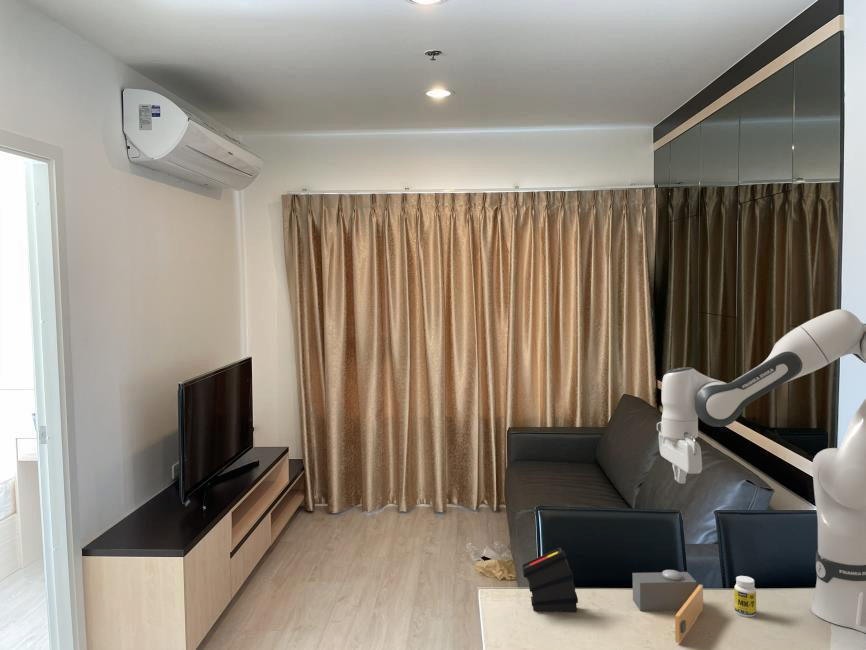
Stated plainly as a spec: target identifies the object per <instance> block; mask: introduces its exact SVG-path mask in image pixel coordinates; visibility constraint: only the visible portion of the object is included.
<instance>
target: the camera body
mask: <svg viewBox="0 0 866 650" xmlns="http://www.w3.org/2000/svg"><path fill="white" fill-rule="evenodd" d="M697 584H698V583H697V581H696V580H695V579H694V578H693V577H692V575H691V574H690V573H688V571H678V570H675V569H665V570H662V571H661V572H632V601H633V602H634V604H635V605H636V607H637V608H638V610H639V611H640V612H644V611H645V612H651V611H652V612H657V611H662V612H663V611H679V610H680V609H681V608H682V606H683V605H684V604H685V602H686V601H687V600H688V599H689V597H690V596H691V595H692V593H693V592H694V591H695V589H696V588H697V587H698V585H697Z"/></svg>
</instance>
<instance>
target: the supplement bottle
mask: <svg viewBox="0 0 866 650" xmlns="http://www.w3.org/2000/svg"><path fill="white" fill-rule="evenodd" d="M735 581H736V583H735V585H734V591H733V592H734V596H733V597H734V605H733V607H734V612H735V613H736V614H737V615H738V616H742V617H746V618H752V617H755V616H757V589H756V587H755V579H754V578H752V577H750V576H748V575H746V576H745V575H739V576H736V577H735Z"/></svg>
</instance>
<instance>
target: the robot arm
mask: <svg viewBox="0 0 866 650" xmlns="http://www.w3.org/2000/svg"><path fill="white" fill-rule="evenodd" d="M848 355H853V356H855V357H856V358H858V359H859V360H860V361H861V362H863V363H864V364H866V323H863V322H862V321H861V320H860V319H859V318H858V316H856V315H855V314H854V313H852V312H851V311H849V310H847V309H843V308H842V309H841V308H840V309H834V310H832V311H828V312H825V313H823V314H821V315H819V316H816V317H814V318H812V319H810V320H807V321H805V322H804V323H802V324H800V325H798V326H797V327H795V328H793V329H792V330H790V331H789V332H788V333H786V334H785V335H783V336H782V337H781V338H780V339H778V341H776V342H775V343H774V346H773V348H772V350H771V352H770V354H769V355H768V357H766V359H765V360H764V361H763V362H762V363H760V364H758V365H757V366H756V367H754V368H752V369H751V370H748V372H746V373H744V374H743V375H741V376H739V377H737V378H736V379H734V380H732V381H731V382H728V383H727V382H724V381H721V380H719V379H714V378H712V377H709V376H708V375H705V374H703V373H701V372H699V371H698V370H696V369H695V368H693V367H690V366H689V367H688V366H687V367H686V366H684V367H677V368H673V369H670V370H668V371H666V372H665V374H664V375H663V377H662V382H661V404H662V415H661V421H659V422H657V423H656V430H657V432H658V447H659V448H658V449H659V453H660V456H661V457H662V458H664V459H665V460H667V461H668V462H670V463H671V464H672V465H671V466H672V470H673V473H674V480H675V481H676V482H677V483H679V484H686V481H687V480H686V479H687V475H688V474H690V475H691V474H701V472H702V471H703V457H702V449H701V446H700V444H699V442H697V441H696V439H697V438H698V437H699V420H700V421H702V422H703V423H704V424H706V425H708V426H711V427H718V428H721V427H727V426H730V425H731V424H732V423H734V422H735V421H736V420H737V419H738V417H740V415H741V413H742V412H743V411H744V409H746V407H747V406H749V405H750V404H751V403H753V402H754V401H756V400H758V399H759V398H761V397H763V396H765V395H766V394H768V393H769V392H772V391H773V390H774V389H776V388H778V387H780V386H781V385H783V384H785V383H788V382H790V381H794V380H795V379H798V378H800V377H803V376H805V375H808V374H811V373H814V372H815V371H818V370H819V369H822V368H824V367H826V366H828V365H829V364H831V363H832V362H834V361H836V360H838V359H839V358H842V357H844V356H848ZM811 469H812V480H813V482H812V483H813V492H814V500H815V501H814V502H815V509H816V515H817V551H816V552H815V571H816V572H815V573H816V584H815V589H814V593H813V598H812V602H811V604H810V610H811V612H812V613H813V614H814V615H816V617H818V618H820V619H822V620H824V621H826V622H828V623H832V624H835V625H837V626H841V627H845V628H850V629H854V630H857V631H858V632H861V633H865V634H866V398H865V399H864V400H863V402H862V403H861V405H860V406H859V408H858V409H857V410H856V412H855V413H854V415H853V416H852V418H851V420H850V421H848V424H847V429H846V432H845V434H844V437H843V439H842V441H841V444H840V447H831V448H829V447H828V448H825V449H822V450H820V451H819V452H817V453H816V455H814V458H813V459H812V465H811Z"/></svg>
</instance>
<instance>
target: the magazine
mask: <svg viewBox="0 0 866 650" xmlns="http://www.w3.org/2000/svg"><path fill="white" fill-rule="evenodd" d="M521 569H522V575H523V578H524V579H525V578H526V579H527V581H528V582H527V583H528V586H529V587H528V589H529V592H530V593H531V596H530V602H531V606H532V609H533V611H534V612H555V611H556V612H558V613H559V612H560V613H561V612H564V613H566V612H567V613H577V611H578V609H577V607H578V605H577V604H578V603H579V599H578V595H577V592H576V586H575V583H574V579H575V577H574V574H573V570H572V569H571V568H570V564H569V562H568V560H567V557H566V553H565V550H562V548H561V547H558V548H556V549H554V550H552V551H549V552H547V553H545V554H543V555H541V556H538V557H536V558H534V559H532V560H530V561H527V562H526V563H523V564H522V565H521Z"/></svg>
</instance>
